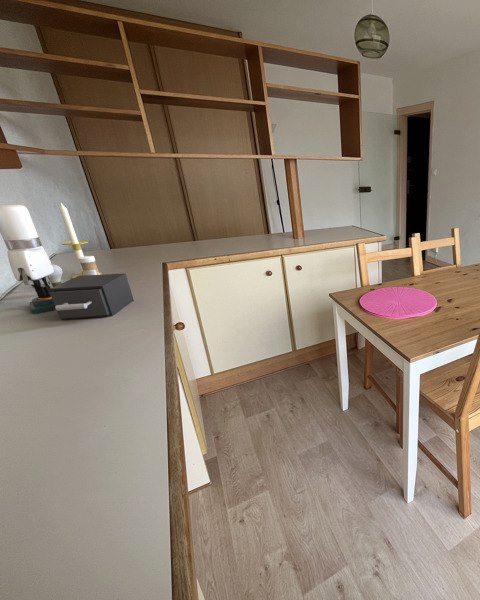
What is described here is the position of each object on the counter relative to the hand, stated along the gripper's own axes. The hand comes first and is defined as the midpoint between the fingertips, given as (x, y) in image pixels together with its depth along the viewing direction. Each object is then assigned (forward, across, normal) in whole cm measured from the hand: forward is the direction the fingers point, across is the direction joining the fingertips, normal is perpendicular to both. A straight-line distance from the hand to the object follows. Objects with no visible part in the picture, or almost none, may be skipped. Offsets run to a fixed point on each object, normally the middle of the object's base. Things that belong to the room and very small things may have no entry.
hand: (46, 296), depth 108 cm
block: (+4, 0, 0) cm, 4 cm away
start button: (+2, 0, 0) cm, 2 cm away
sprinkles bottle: (+4, -19, +4) cm, 20 cm away
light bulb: (+4, -23, -11) cm, 26 cm away
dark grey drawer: (+3, +10, +17) cm, 20 cm away
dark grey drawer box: (+4, +6, +17) cm, 19 cm away
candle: (+4, -41, -10) cm, 43 cm away
